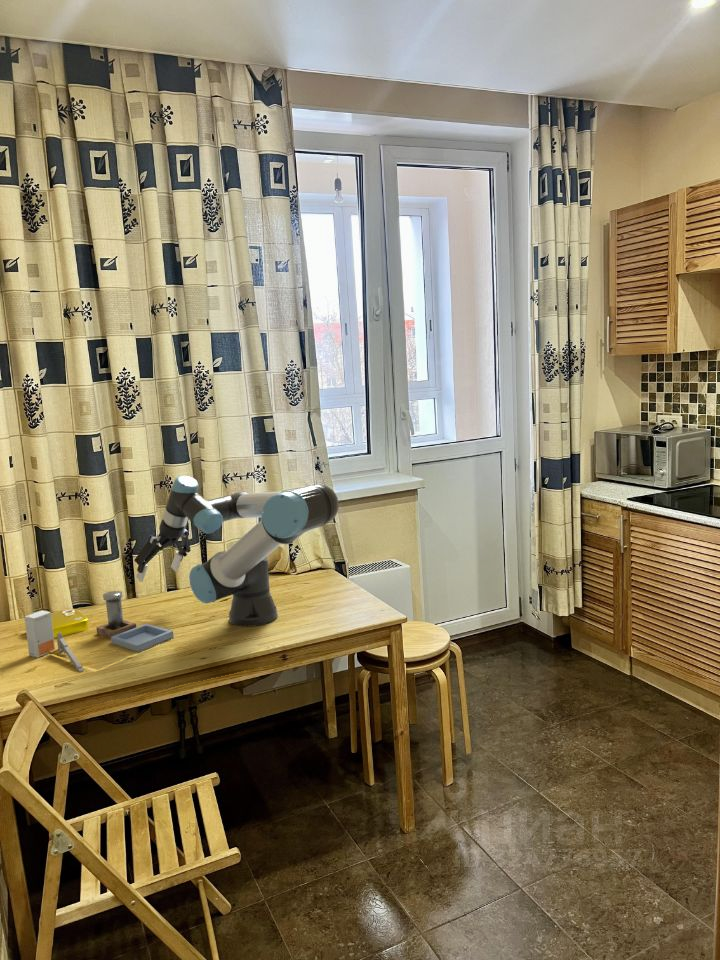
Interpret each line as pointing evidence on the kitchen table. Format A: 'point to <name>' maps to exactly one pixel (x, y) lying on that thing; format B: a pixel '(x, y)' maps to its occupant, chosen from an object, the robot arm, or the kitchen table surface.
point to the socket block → (109, 633)
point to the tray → (142, 637)
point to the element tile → (69, 622)
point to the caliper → (68, 652)
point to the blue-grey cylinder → (114, 609)
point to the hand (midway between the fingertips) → (157, 574)
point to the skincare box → (39, 633)
